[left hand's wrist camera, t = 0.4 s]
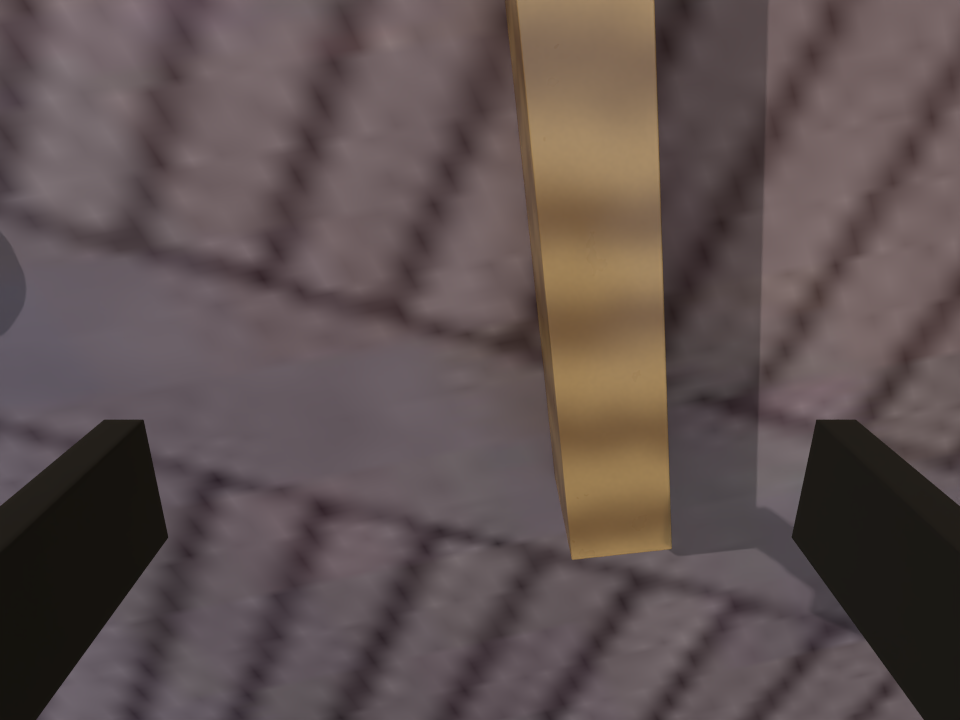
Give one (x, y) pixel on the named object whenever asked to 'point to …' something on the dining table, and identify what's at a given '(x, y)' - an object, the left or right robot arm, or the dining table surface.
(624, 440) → the bar
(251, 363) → the dining table surface
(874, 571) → the left robot arm
